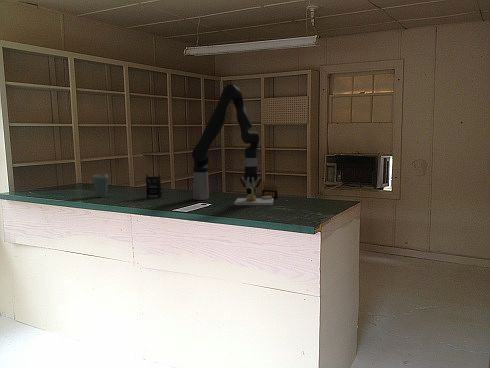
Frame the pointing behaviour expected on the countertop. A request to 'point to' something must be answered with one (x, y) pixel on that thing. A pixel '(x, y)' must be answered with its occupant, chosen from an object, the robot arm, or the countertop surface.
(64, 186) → the countertop surface
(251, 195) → the levelling knob
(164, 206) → the countertop surface
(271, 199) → the base plate
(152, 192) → the geiger counter
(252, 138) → the robot arm
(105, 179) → the disposable coffee cup
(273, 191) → the ammunition clip
